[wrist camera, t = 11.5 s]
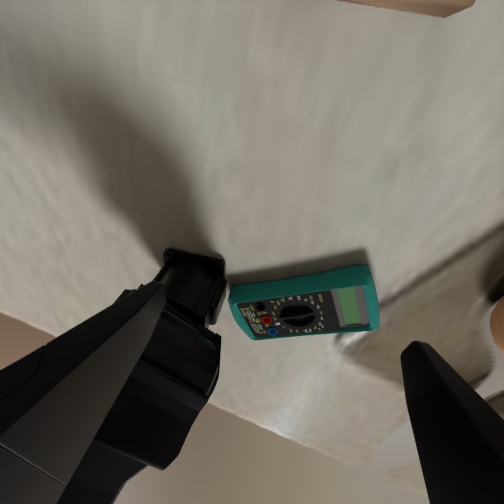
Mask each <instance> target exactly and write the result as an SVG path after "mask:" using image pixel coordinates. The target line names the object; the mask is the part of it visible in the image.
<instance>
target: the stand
mask: <svg viewBox="0 0 504 504" xmlns="http://www.w3.org/2000/svg"><path fill="white" fill-rule="evenodd" d="M339 1H345V2H351V3H358V4H364V5H370V6H376V7H382V8H389V9H395V10H401V11H407V12H413V13H420V14H426V15H432V16H438V17H444V18H446V17H448V16H450V15H452V14H455V13H457V12H459V11H462V10H464V9H466V8H469V7H471V6H473V4H474V2H475V0H339Z"/></svg>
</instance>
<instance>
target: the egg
mask: <svg viewBox="0 0 504 504" xmlns="http://www.w3.org/2000/svg"><path fill="white" fill-rule="evenodd" d="M490 329H491V333H492V336H493V338H494V341H495V343H496V345H497V346H498V348H499V349H500V350H501V352H502V353H503V354H504V298H503V299H502V300H500V301H499V302H498V304H497V305H496V307H495V308H494V310H493V311H492V314H491V318H490Z"/></svg>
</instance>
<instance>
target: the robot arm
mask: <svg viewBox="0 0 504 504" xmlns="http://www.w3.org/2000/svg"><path fill="white" fill-rule="evenodd" d="M168 253H169V254H168ZM163 256H164V266H163V267H162V268H161V270H160V271H159V273H158V274H157V275H156V277H155V278H154V279H153V281H151V282H149V283H148V284H146V285H143V284H141V285H140V286H139V287H138V288H137V290H135V289H133V290H126V289H125V290H124V291H123V293H122V294H121V295H120V296H119V297H118V299H117V300H116V301H115V302H114V303H113V304H112V305H111V306H109V307H107V308H106V309H104V310H102V311H101V312H99V313H97V314H96V315H94V316H92V317H90V318H89V319H87V320H85V321H84V322H82V323H80V324H79V325H77V326H75V327H74V328H72V329H70V330H69V331H67V332H65V333H63V334H62V335H60V336H58V337H57V338H55V339H53V340H52V341H50V342H48V343H47V344H46V346H45V345H43V346H41V347H40V348H38V349H36V350H35V351H33V352H31V353H30V354H28V355H26V356H24V357H23V358H21V359H19V360H17V361H16V362H14V363H12V364H10V365H9V366H7V367H5V368H3V369H1V370H0V504H113V503H114V502H115V500H116V498H117V496H118V495H119V493H120V491H121V490H122V488H123V487H124V485H125V483H126V482H127V481H129V480H130V479H131V478H133V477H134V476H135V475H137V474H138V473H139V472H141V471H142V470H143V469H145V468H146V467H147V466H152V467H154V468H157V469H159V470H164V469H166V468H167V467H168V466H169V465H170V464H171V462H173V460H174V459H175V458H176V457H177V456H178V455H179V453H180V451H181V448H182V446H183V444H184V442H185V439H186V437H187V435H188V432H189V430H190V428H191V426H192V424H193V423H194V421H195V419H196V417H197V416H198V414H199V412H200V411H201V410H202V408H203V407H204V405H205V404H206V403H207V401H208V399H209V398H210V396H211V394H212V392H213V390H214V388H215V386H216V383H217V380H218V377H219V367H220V352H221V336H220V335H218V334H217V333H216V334H215V333H214V332H212V331H211V330H209V329H208V327H209V325H214V324H216V322H217V319H218V316H219V313H220V310H221V308H222V305H223V302H224V299H225V296H226V287H227V280H226V278H224V274H225V262H224V261H223V260H219V259H215V258H210V257H206V256H201V255H197V254H192V253H187V252H183V251H178V250H174V249H169V248H167V249H166V250H165V251H164V252H163ZM219 264H221V265H219ZM401 367H402V374H403V382H404V390H405V397H406V403H407V408H408V413H409V417H410V421H411V425H412V430H413V434H414V438H415V442H416V447H417V451H418V455H419V459H420V464H421V468H422V472H423V476H424V480H425V485H426V489H427V493H428V497H429V502H430V504H504V420H503V419H502V418H501V417H500V416H499V415H498V414H497V413H496V412H495V411H494V410H493V409H492V408H491V407H490V406H489V405H488V404H487V403H486V402H485V401H484V399H483V398H482V397H481V396H480V395H479V394H478V393H477V392H476V391H475V390H474V389H473V388H472V387H471V386H470V385H469V384H468V383H467V382H466V381H465V380H464V379H463V378H462V377H461V376H460V375H459V374H458V373H457V372H456V371H455V370H454V369H453V368H452V367H451V366H450V365H449V364H448V363H447V362H446V361H445V360H444V359H443V358H442V357H441V356H440V355H439V354H438V353H437V352H436V351H435V350H434V349H433V348H432V347H431V346H430V345H429V344H428V343H425V342H421V341H413V342H411V343H410V344H409V346H408V347H407V348H406V349H405V350H404V351H403V352H402V354H401Z"/></svg>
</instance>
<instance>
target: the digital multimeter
mask: <svg viewBox="0 0 504 504" xmlns="http://www.w3.org/2000/svg"><path fill="white" fill-rule="evenodd" d="M363 287H364V288H363ZM228 301H229V305H230V309H231V312H232V315H233V317H234V319H235V321H236V322H237V324H238V325H239V327H240V328H241V329H242V330H243V331H244V332H245V333H246V334H247V335H248V336H249V337H250V338H251V339H252V340H264V339H273V338H284V337H294V336H305V335H318V334H331V333H346V332H362V331H372V330H376V329H378V328H379V321H380V317H379V304H378V298H377V294H376V289H375V286H374V282H373V279H372V276H371V273H370V270H369V268H368V266H367V265H357V266H352V267H347V268H342V269H337V270H332V271H328V272H323V273H318V274H312V275H306V276H301V277H295V278H290V279H283V280H276V281H269V282H263V283H256V284H248V285H239V286H234V287H232V289H231V292H230V295H229V298H228Z"/></svg>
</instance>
